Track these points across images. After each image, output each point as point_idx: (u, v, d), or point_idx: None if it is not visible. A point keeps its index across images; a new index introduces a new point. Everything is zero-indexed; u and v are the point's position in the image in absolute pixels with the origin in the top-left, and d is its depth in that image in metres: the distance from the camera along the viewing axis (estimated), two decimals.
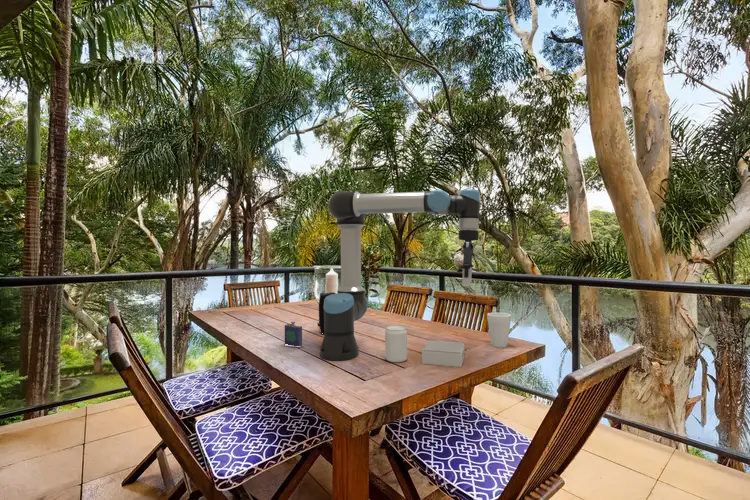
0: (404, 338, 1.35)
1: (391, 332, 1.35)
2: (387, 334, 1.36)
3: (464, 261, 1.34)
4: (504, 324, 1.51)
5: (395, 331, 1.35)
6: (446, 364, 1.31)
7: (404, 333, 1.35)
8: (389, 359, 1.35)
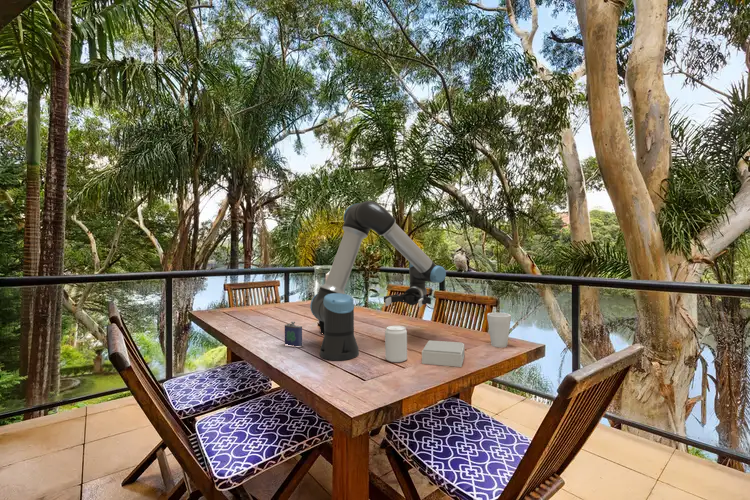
0: (404, 338, 1.35)
1: (391, 332, 1.35)
2: (387, 334, 1.36)
3: None
4: (504, 324, 1.51)
5: (395, 331, 1.35)
6: (446, 364, 1.31)
7: (404, 333, 1.35)
8: (389, 359, 1.35)
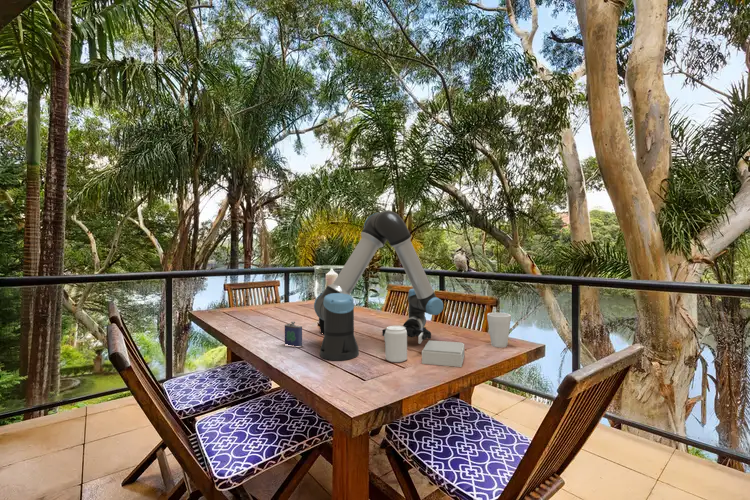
0: (404, 338, 1.35)
1: (391, 332, 1.35)
2: (387, 334, 1.36)
3: None
4: (504, 324, 1.51)
5: (395, 331, 1.35)
6: (446, 364, 1.31)
7: (404, 333, 1.35)
8: (389, 359, 1.35)
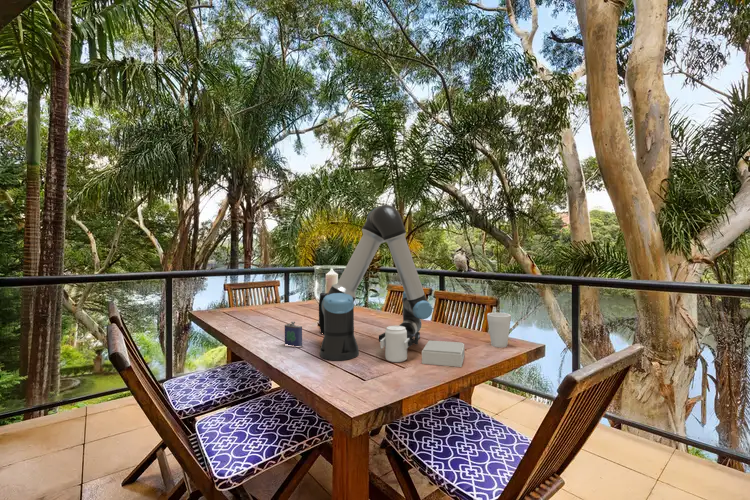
0: (404, 338, 1.35)
1: (391, 332, 1.35)
2: (387, 334, 1.36)
3: (418, 338, 1.40)
4: (504, 324, 1.51)
5: (395, 331, 1.35)
6: (446, 364, 1.31)
7: (404, 333, 1.35)
8: (389, 359, 1.35)
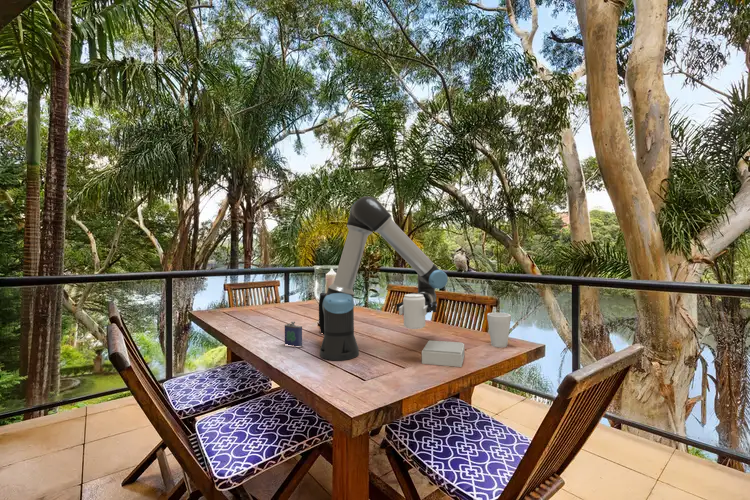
0: (422, 305, 1.35)
1: (410, 299, 1.35)
2: (405, 301, 1.36)
3: None
4: (504, 324, 1.51)
5: (414, 297, 1.35)
6: (446, 364, 1.31)
7: (422, 300, 1.36)
8: (408, 326, 1.35)
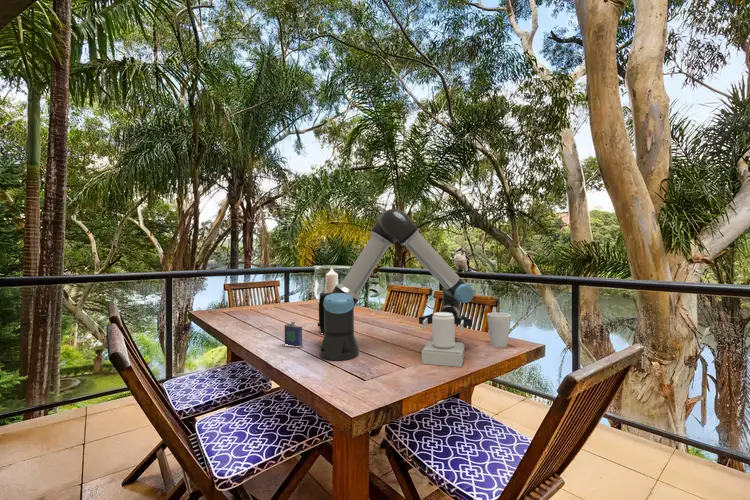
0: (452, 324, 1.35)
1: (439, 318, 1.34)
2: (435, 320, 1.35)
3: None
4: (504, 324, 1.51)
5: (444, 317, 1.34)
6: (446, 364, 1.31)
7: (452, 319, 1.35)
8: (437, 345, 1.35)
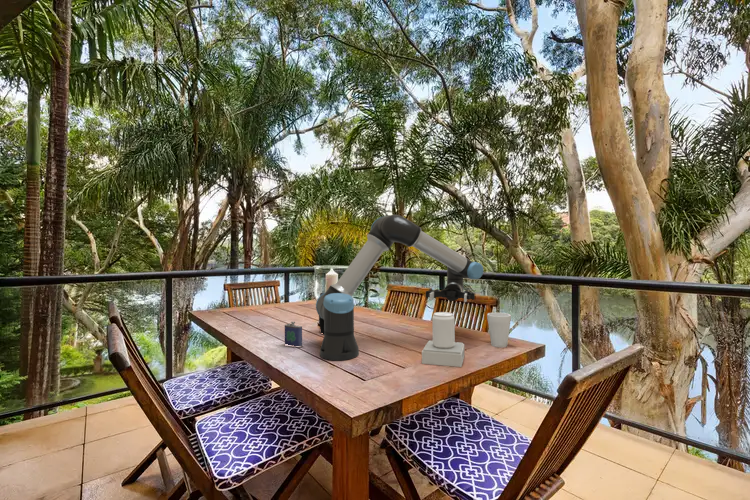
0: (452, 324, 1.35)
1: (439, 318, 1.34)
2: (435, 320, 1.35)
3: None
4: (504, 324, 1.51)
5: (444, 317, 1.34)
6: (446, 364, 1.31)
7: (452, 319, 1.35)
8: (437, 345, 1.35)
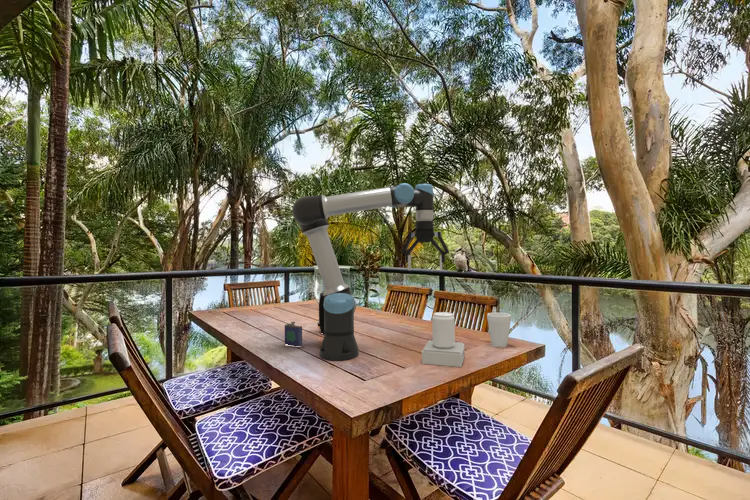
0: (452, 324, 1.35)
1: (439, 318, 1.34)
2: (435, 320, 1.35)
3: (447, 248, 1.55)
4: (504, 324, 1.51)
5: (444, 317, 1.34)
6: (446, 364, 1.31)
7: (452, 319, 1.35)
8: (437, 345, 1.35)
